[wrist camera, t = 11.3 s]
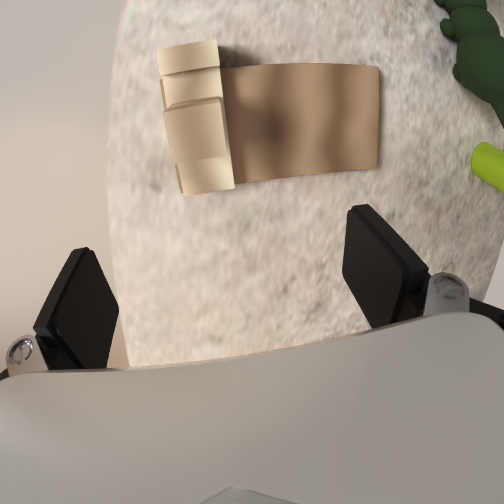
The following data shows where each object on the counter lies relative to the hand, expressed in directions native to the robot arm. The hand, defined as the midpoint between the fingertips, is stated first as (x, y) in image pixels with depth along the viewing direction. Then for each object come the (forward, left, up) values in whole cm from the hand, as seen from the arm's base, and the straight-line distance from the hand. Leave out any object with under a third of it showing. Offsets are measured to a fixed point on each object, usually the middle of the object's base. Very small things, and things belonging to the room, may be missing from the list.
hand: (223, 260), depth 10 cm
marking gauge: (+1, -2, -22) cm, 22 cm away
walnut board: (-7, -1, -22) cm, 24 cm away
